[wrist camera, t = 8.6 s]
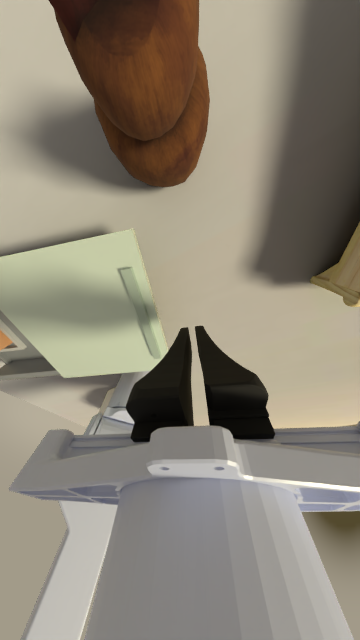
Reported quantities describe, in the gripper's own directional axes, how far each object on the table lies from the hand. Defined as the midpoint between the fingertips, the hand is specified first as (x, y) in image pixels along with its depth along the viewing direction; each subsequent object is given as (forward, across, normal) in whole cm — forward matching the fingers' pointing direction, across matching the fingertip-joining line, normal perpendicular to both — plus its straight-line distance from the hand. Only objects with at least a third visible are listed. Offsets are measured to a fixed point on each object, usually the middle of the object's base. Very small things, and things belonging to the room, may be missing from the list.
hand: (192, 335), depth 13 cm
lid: (+5, +13, 0) cm, 14 cm away
